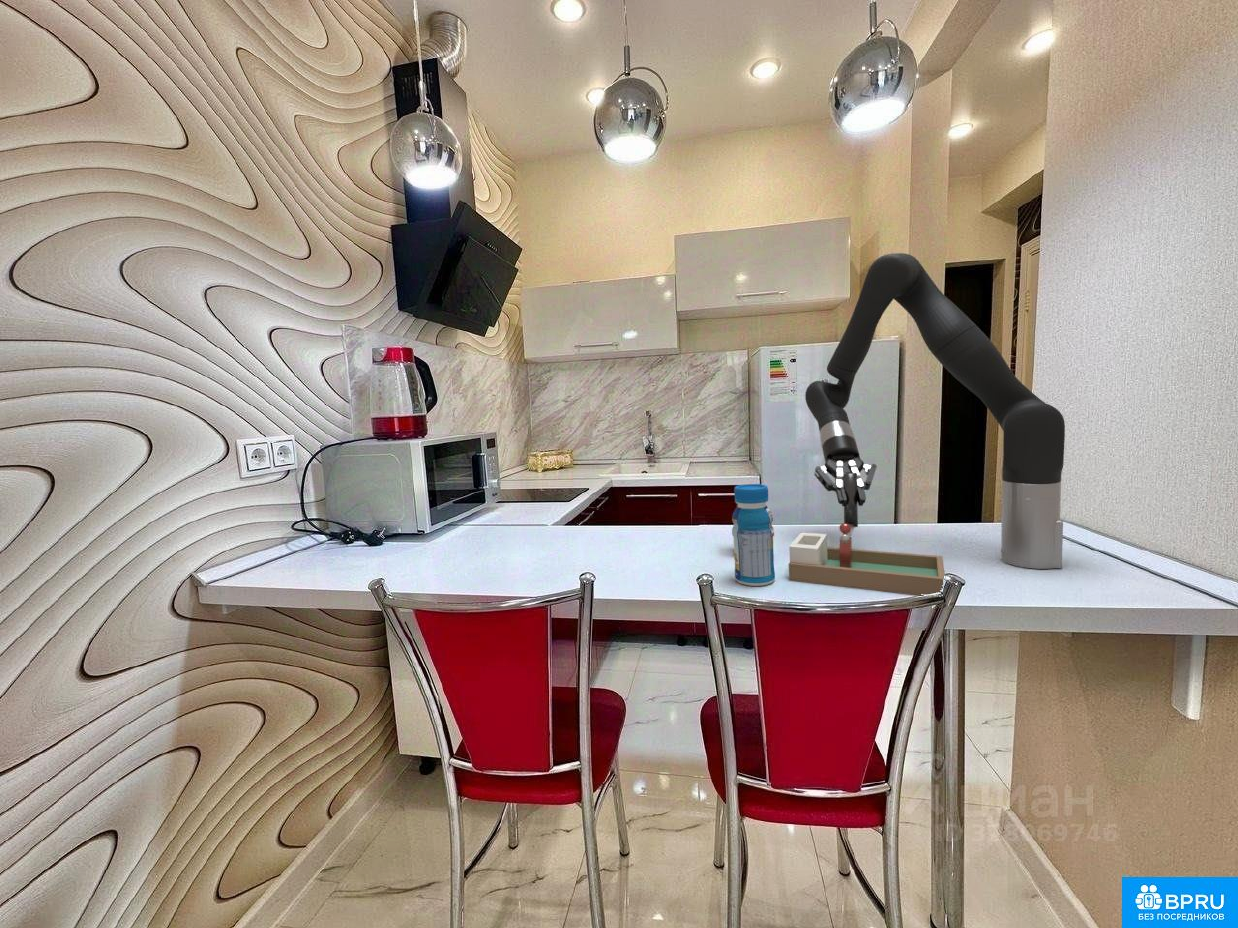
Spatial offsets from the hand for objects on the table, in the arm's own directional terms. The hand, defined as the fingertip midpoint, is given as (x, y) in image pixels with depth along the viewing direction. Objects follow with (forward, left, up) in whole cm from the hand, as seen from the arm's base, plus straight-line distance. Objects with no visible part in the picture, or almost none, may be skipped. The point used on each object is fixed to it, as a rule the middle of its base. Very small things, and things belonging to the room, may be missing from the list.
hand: (853, 503), depth 107 cm
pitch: (-3, +8, -13) cm, 16 cm away
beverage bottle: (+17, +18, -14) cm, 28 cm away
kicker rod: (+1, +3, -12) cm, 12 cm away
